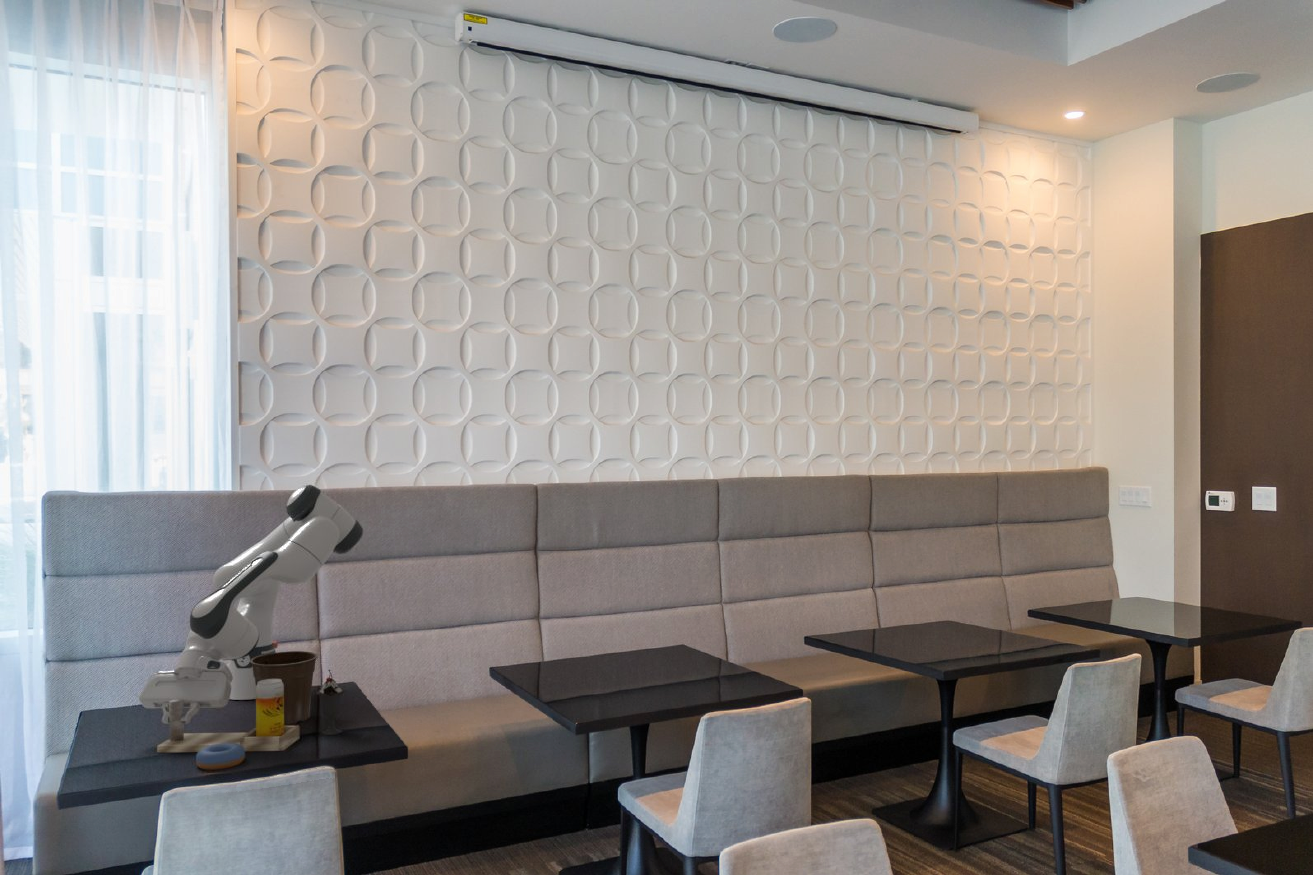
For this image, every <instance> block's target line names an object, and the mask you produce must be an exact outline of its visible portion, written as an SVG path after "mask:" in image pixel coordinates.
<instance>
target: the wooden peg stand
mask: <svg viewBox="0 0 1313 875" xmlns="http://www.w3.org/2000/svg"><path fill="white" fill-rule="evenodd" d="M168 713H169V724H168V725H169V730H168V734H169V739H166V740H165V741H163V742H161V743H160V744H158V745H157V746H156V748H157V751H156V752H157V753H198V752H199V751H200V750H201V749H203V748H205V747H208V746H211V745H215V744H221V743H235V744H239V745H241V746H243V748H244V750H245V752H275V751H276V752H277V751H279V752H281V751H282V752H283V751H285V750H286V749H288V748H289V747H290V746H291V745H293V744H294V743H295V742H296V741H298V740H299V739H300V725H284V734H283V735H282V736H271V737H256V727H253V729H251V730H249V731H248V732H198V733H197V732H193V733H191V732H190V733H189V732H188V733H184V732H185V731H184V729H185V726H184V725H185V723H182V722H181V717H182V714H184V713H185V712H184V708H183V700H182V699H177V700H172V701H169V711H168Z"/></svg>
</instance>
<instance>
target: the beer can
mask: <svg viewBox="0 0 1313 875" xmlns="http://www.w3.org/2000/svg"><path fill="white" fill-rule="evenodd" d="M284 726H285V725H284V684H283V683H282V680H281V679H266V680H261V681H259V682H258V684H257V686H256V699H255V728H256V737H271V736H282V735H283V734H284Z"/></svg>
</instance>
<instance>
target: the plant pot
mask: <svg viewBox="0 0 1313 875" xmlns="http://www.w3.org/2000/svg"><path fill="white" fill-rule="evenodd" d="M317 659H318V654H317V653H315V652H310V651H302V650H301V651H300V650H298V651H297V650H296V651H295V650H294V651H293V650H292V651H279V652H276V653H270V654H264V655H260V656H257V657H254V658H252V659H251V660H250V663H251V664H252V667H253V676H254V677H255V684H256V686H257V684H258V682H259V681H261V680H266V679H281V680H282V683H283V684H284V726H291V725H296V724H297V723H299V722H305V721H307V720H308V719H310V717H311V702H312V701H311V700H312V688H313V678H314V677H313V676H314V673H315V671H316V661H317ZM290 724H291V725H290Z"/></svg>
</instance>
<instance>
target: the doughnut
mask: <svg viewBox="0 0 1313 875" xmlns="http://www.w3.org/2000/svg"><path fill="white" fill-rule="evenodd" d="M245 757H246V751H245V750H244V748H243V746H241V745H239V744H235V743H221V744H215V745H211V746H208V747H205V748H203V749H201V750H200V751H199V752H196V756H195V758H196V759H195V760H196V761H195V762H196V765H197V767H198V768H199V769H202V770H209V771H213V770H214V771H215V770H222V769H223V770H224V769H228V768H232V767H235V766H237V765H240V764H241V763H242V762H243V761H244V759H245Z"/></svg>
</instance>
